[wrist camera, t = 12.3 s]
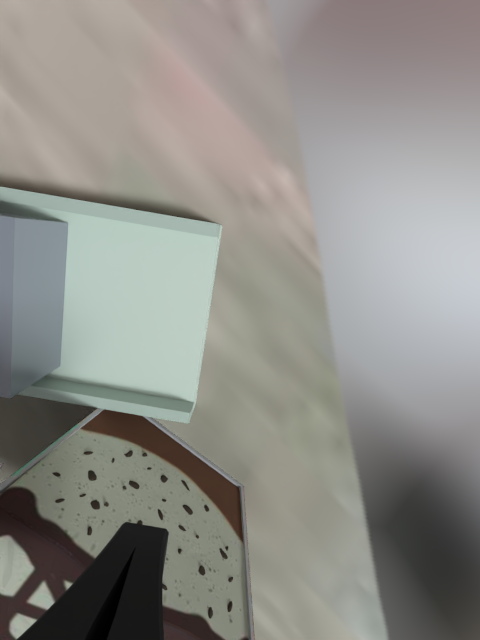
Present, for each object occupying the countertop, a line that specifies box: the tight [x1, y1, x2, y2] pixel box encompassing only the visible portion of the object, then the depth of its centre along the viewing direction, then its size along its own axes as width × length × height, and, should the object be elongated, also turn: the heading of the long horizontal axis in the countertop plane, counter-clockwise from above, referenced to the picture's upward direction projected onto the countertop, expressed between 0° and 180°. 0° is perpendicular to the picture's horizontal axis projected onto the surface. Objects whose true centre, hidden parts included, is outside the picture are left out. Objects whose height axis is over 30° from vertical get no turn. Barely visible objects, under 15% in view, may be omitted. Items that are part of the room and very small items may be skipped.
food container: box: [0, 408, 255, 640], centre depth 17 cm, size 12×6×10 cm, turn 50°
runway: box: [0, 187, 222, 424], centre depth 18 cm, size 10×20×2 cm, turn 81°
